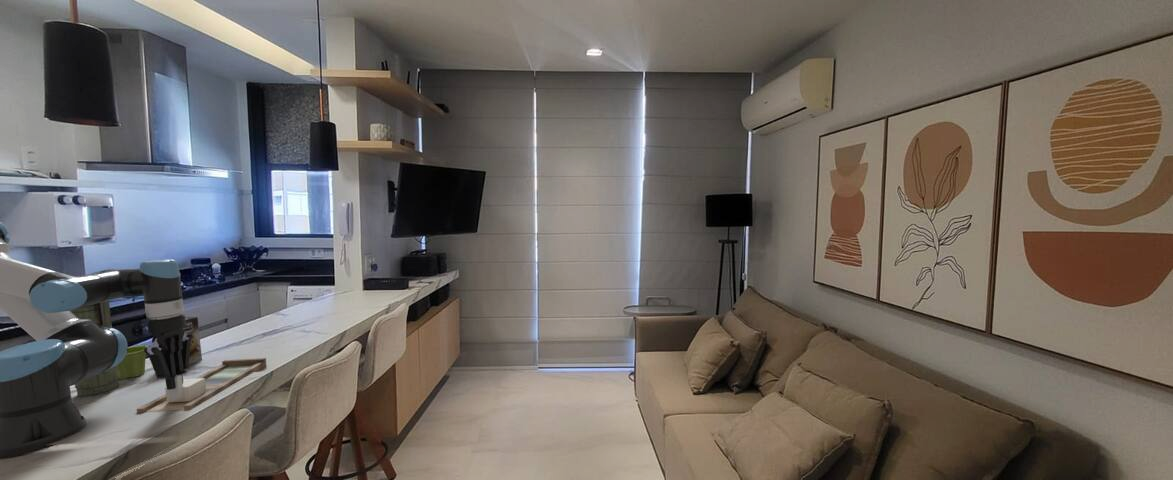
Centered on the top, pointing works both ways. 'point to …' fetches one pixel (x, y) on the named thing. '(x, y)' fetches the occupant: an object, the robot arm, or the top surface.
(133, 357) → the plant pot
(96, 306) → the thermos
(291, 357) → the top surface
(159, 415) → the top surface
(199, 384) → the cream block
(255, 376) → the top surface
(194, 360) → the coffee box
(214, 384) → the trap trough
